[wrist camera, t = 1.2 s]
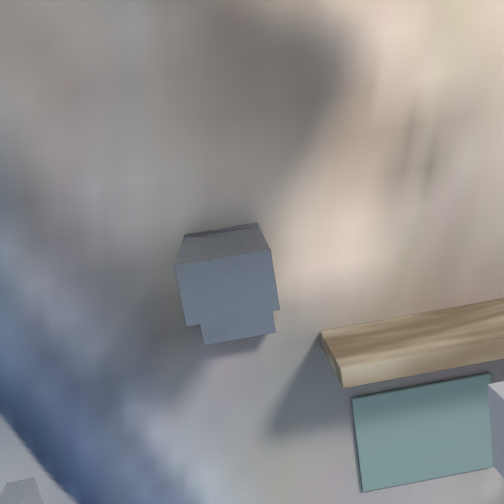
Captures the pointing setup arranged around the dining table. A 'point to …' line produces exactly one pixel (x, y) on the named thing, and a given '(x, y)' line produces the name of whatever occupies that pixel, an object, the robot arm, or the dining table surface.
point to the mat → (423, 431)
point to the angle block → (227, 283)
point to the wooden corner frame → (416, 343)
